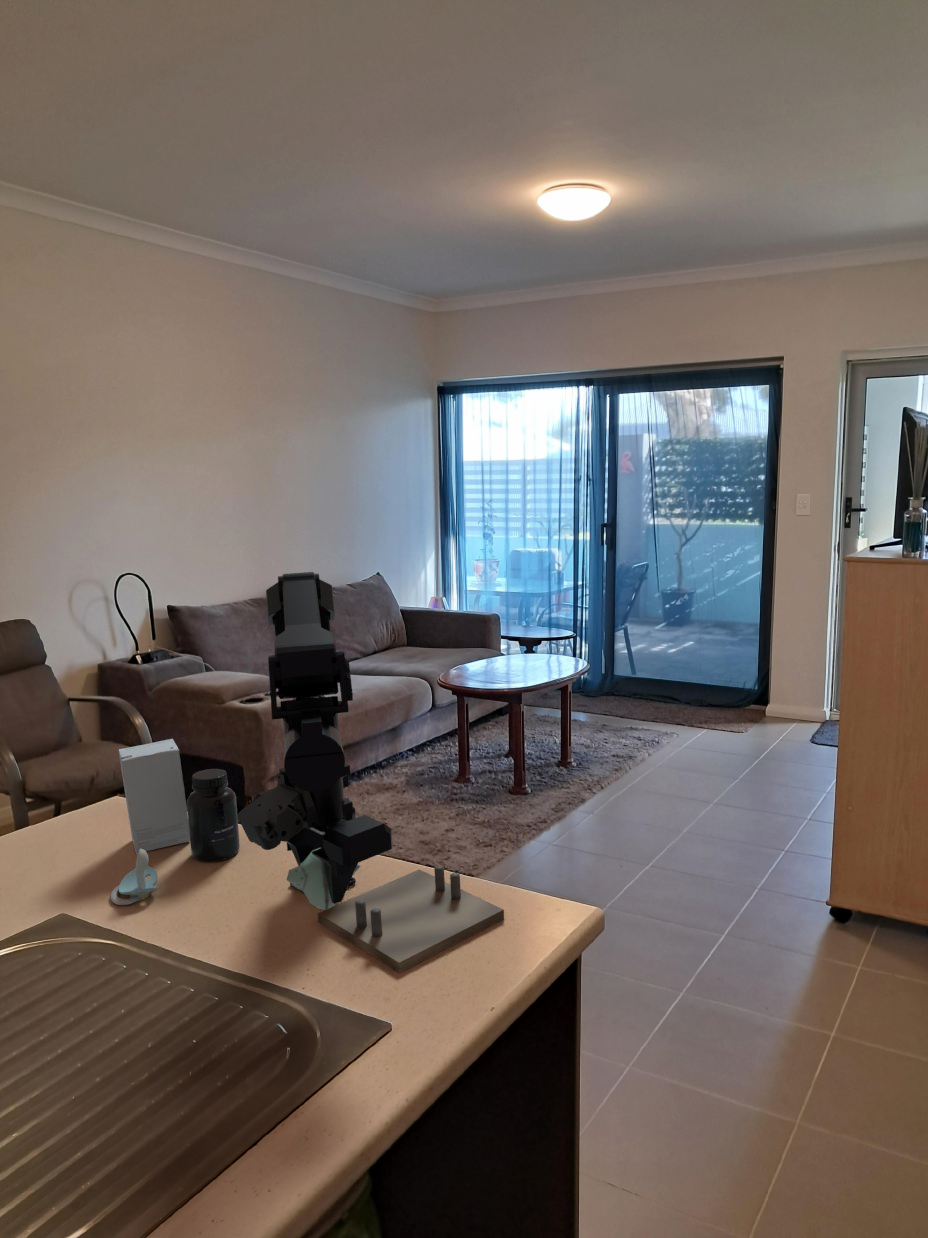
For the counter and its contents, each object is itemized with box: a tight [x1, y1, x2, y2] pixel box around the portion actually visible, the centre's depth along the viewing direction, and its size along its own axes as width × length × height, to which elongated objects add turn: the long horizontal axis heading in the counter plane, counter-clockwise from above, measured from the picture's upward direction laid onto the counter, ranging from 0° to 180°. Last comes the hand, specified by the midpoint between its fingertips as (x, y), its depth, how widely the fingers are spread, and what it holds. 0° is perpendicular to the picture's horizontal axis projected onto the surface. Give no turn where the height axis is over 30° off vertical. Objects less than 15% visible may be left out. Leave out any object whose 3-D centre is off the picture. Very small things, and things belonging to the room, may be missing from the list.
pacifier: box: [110, 849, 158, 906], centre depth 123 cm, size 7×6×6 cm
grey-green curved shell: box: [286, 848, 362, 911], centre depth 102 cm, size 8×4×7 cm, turn 107°
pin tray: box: [317, 865, 505, 973], centre depth 113 cm, size 16×16×4 cm
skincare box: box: [118, 738, 190, 855], centre depth 139 cm, size 8×6×15 cm
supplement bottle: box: [186, 768, 241, 863], centre depth 134 cm, size 7×7×12 cm
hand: (324, 895), depth 102 cm, fingers closed on grey-green curved shell, 4 cm apart
